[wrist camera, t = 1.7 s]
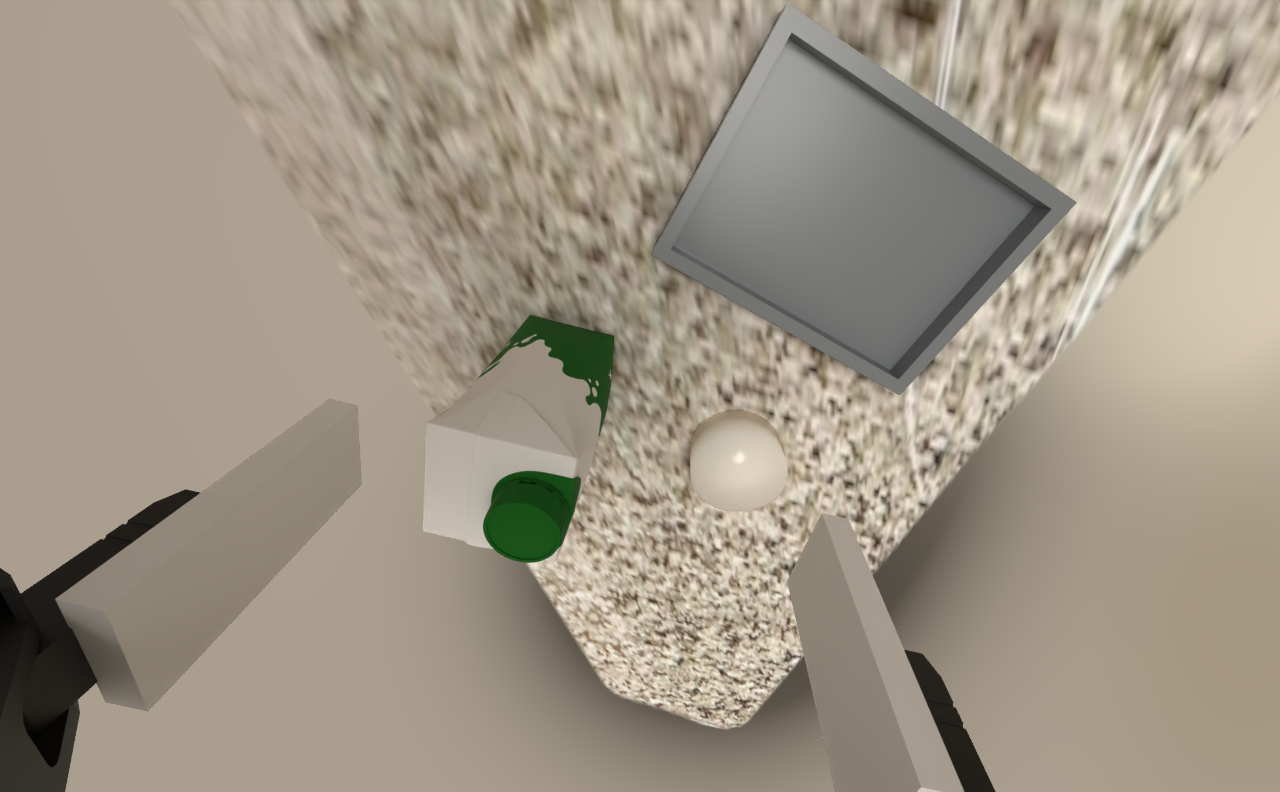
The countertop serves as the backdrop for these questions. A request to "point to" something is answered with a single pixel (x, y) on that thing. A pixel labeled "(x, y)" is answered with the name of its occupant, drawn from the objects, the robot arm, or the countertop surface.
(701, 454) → the cream glossy pebble
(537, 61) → the countertop surface
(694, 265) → the tray
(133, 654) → the robot arm
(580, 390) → the soya milk
